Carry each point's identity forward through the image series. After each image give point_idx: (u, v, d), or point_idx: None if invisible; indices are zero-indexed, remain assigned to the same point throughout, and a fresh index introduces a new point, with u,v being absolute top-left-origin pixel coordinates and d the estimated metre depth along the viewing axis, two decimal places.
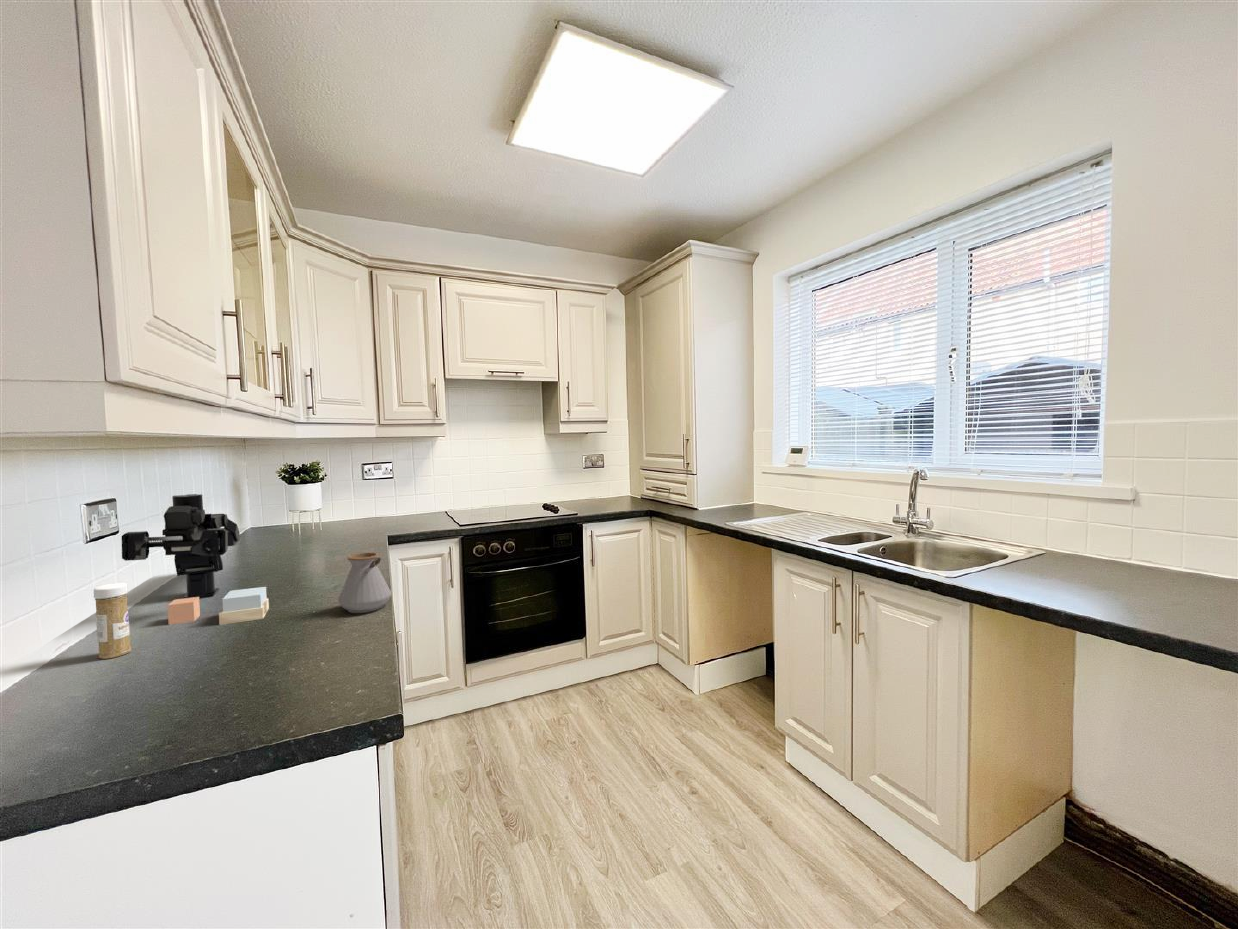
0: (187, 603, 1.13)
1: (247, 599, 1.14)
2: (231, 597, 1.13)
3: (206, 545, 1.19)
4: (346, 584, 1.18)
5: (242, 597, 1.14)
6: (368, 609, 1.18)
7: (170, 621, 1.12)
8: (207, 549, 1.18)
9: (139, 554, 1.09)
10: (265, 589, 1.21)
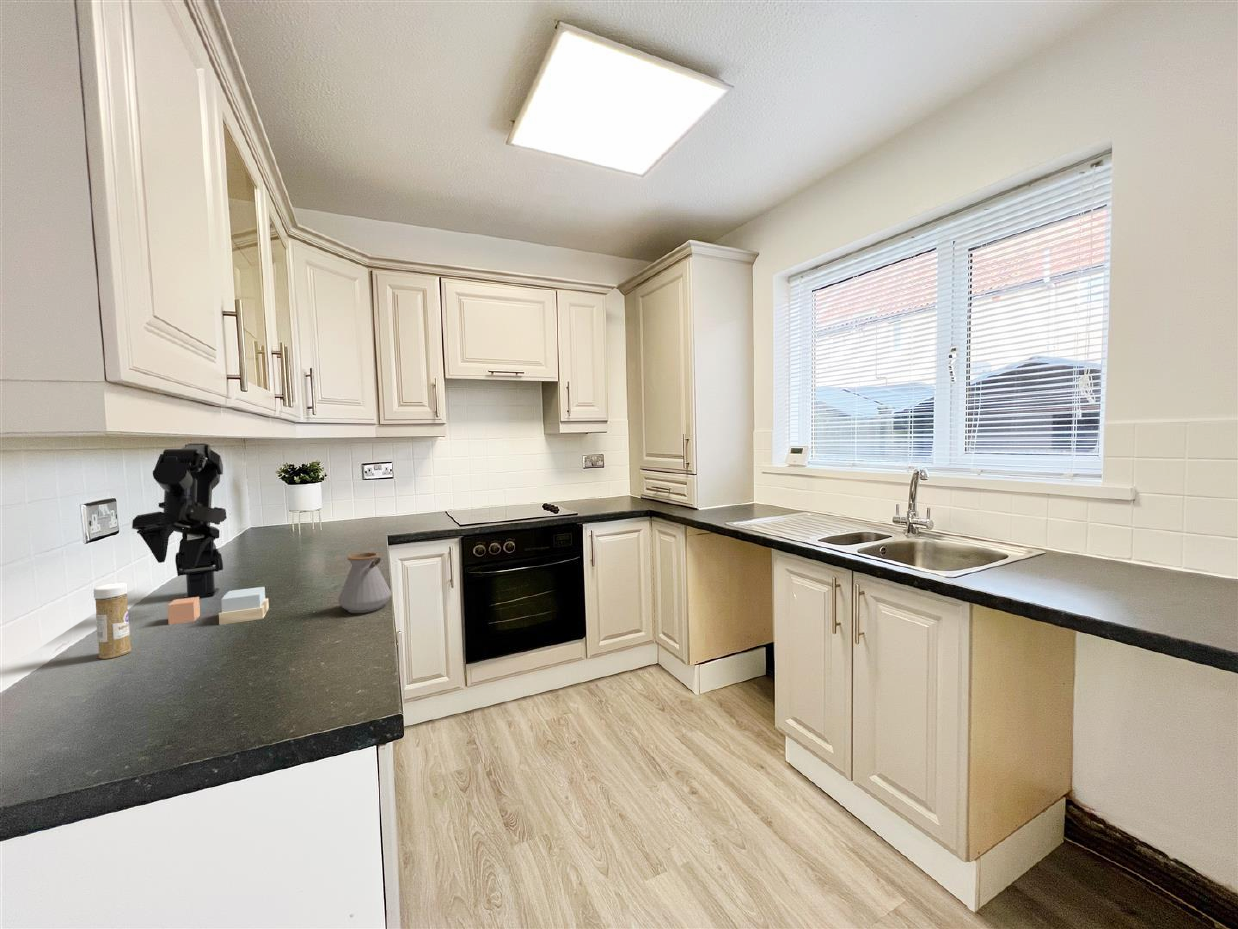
0: (187, 603, 1.13)
1: (246, 599, 1.14)
2: (230, 597, 1.13)
3: None
4: (346, 584, 1.18)
5: (241, 597, 1.14)
6: (368, 609, 1.18)
7: (170, 621, 1.12)
8: None
9: None
10: (264, 589, 1.21)
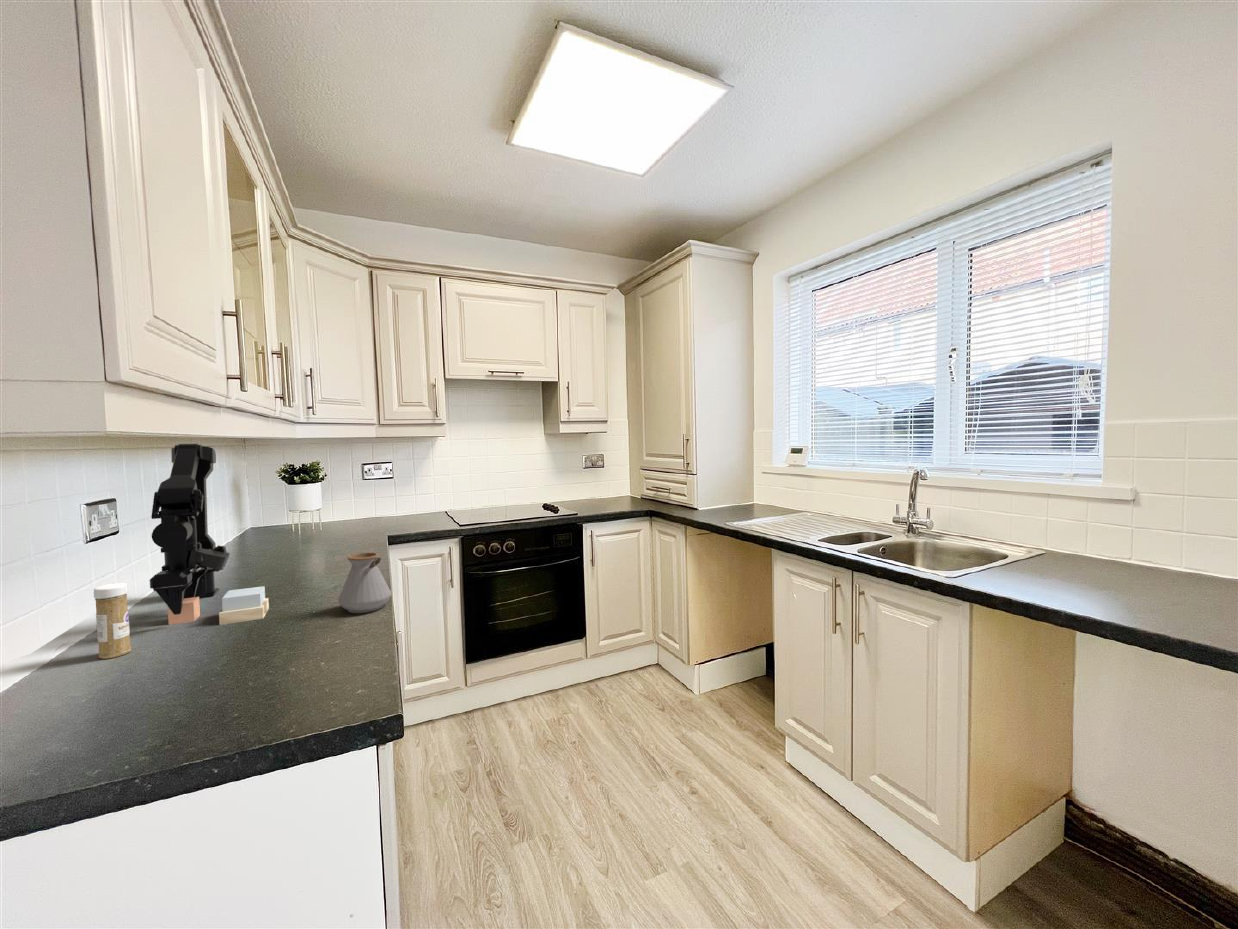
0: (187, 603, 1.13)
1: (247, 598, 1.14)
2: (231, 596, 1.14)
3: None
4: (346, 584, 1.18)
5: (242, 596, 1.14)
6: (368, 609, 1.18)
7: (170, 621, 1.12)
8: None
9: None
10: (264, 588, 1.21)
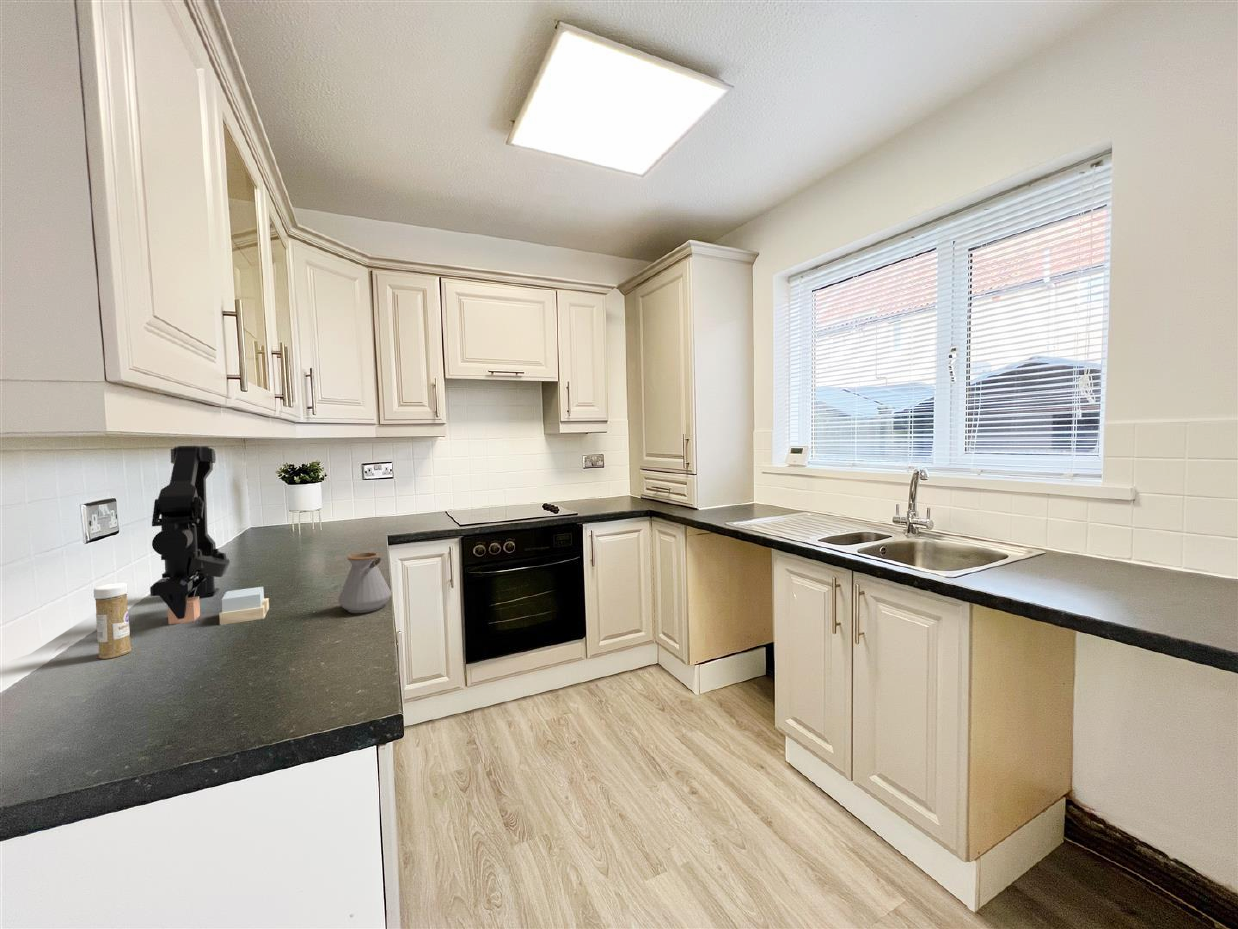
0: (187, 603, 1.13)
1: (247, 599, 1.14)
2: (230, 597, 1.13)
3: None
4: (346, 584, 1.18)
5: (242, 597, 1.14)
6: (368, 609, 1.18)
7: (170, 621, 1.12)
8: None
9: None
10: (263, 590, 1.21)
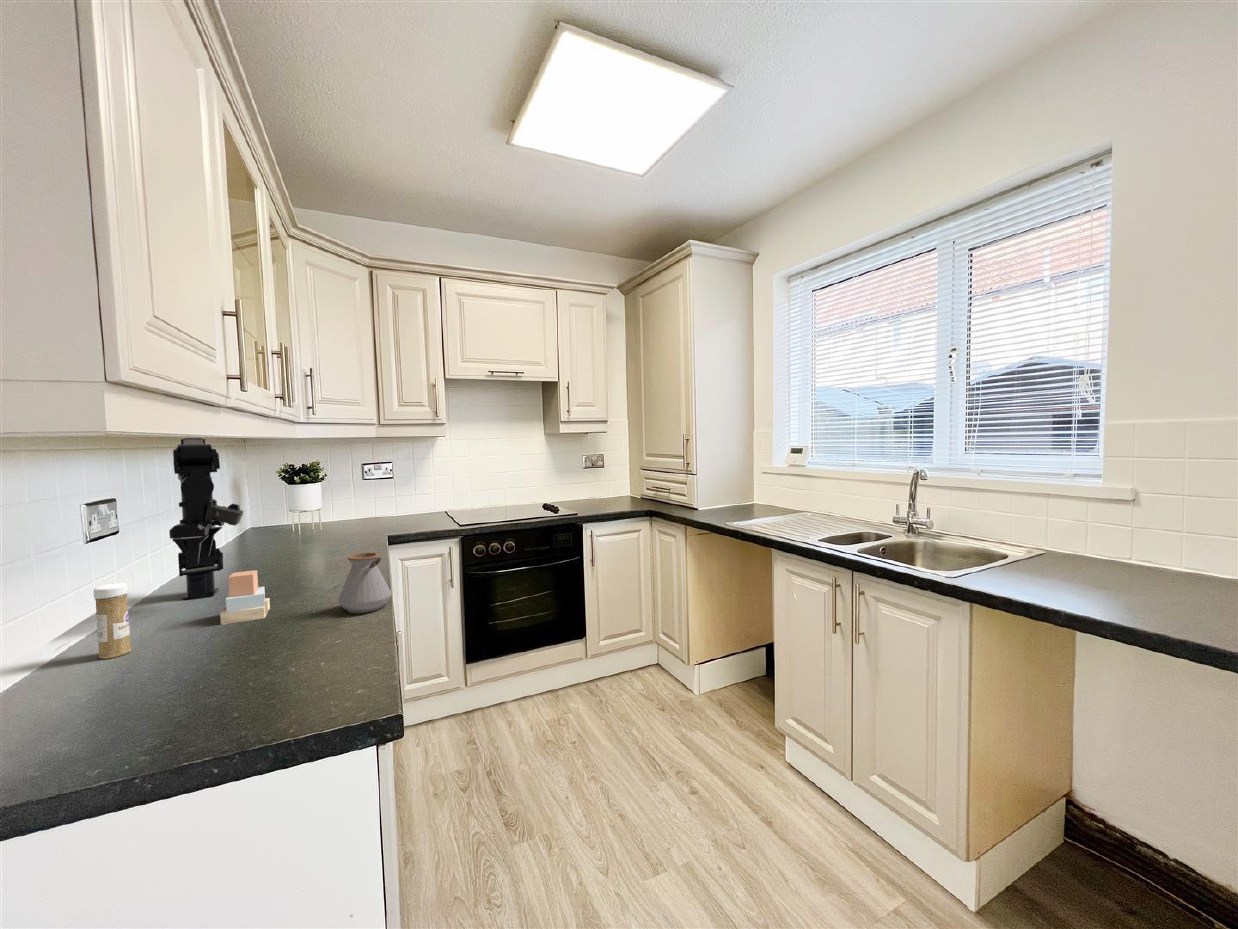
0: (247, 575, 1.15)
1: (251, 598, 1.15)
2: (234, 597, 1.13)
3: None
4: (346, 584, 1.18)
5: (246, 597, 1.14)
6: (368, 609, 1.18)
7: (231, 593, 1.14)
8: None
9: None
10: (264, 589, 1.21)
